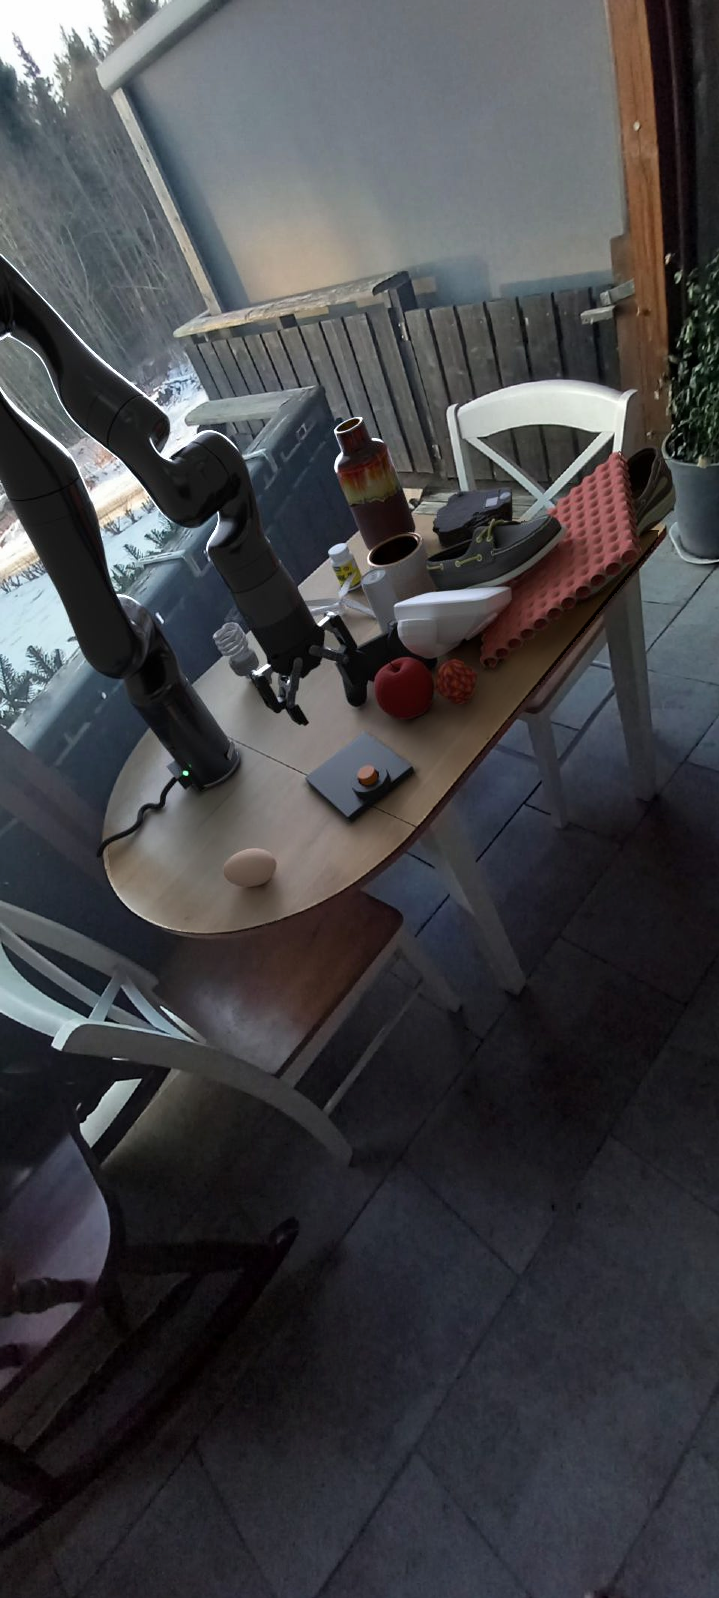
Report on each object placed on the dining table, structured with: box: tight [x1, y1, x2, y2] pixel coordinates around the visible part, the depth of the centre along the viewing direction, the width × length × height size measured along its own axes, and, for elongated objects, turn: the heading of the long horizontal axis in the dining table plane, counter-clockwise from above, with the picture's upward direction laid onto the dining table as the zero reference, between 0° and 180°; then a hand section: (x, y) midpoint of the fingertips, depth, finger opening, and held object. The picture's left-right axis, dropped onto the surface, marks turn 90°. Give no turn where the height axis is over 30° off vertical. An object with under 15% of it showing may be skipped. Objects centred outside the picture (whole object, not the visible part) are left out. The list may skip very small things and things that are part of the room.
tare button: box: [357, 766, 378, 786], centre depth 106 cm, size 3×3×2 cm
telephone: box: [394, 587, 512, 659], centre depth 119 cm, size 16×20×9 cm
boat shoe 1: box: [425, 513, 568, 592], centre depth 121 cm, size 11×29×9 cm, turn 57°
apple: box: [373, 657, 435, 720], centre depth 115 cm, size 9×9×10 cm
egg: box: [222, 847, 277, 888], centre depth 104 cm, size 5×5×8 cm
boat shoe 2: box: [576, 445, 677, 603], centre depth 122 cm, size 32×13×12 cm, turn 127°
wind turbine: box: [304, 572, 376, 619], centre depth 143 cm, size 4×14×21 cm
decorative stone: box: [434, 658, 478, 706], centre depth 112 cm, size 6×7×8 cm
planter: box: [366, 532, 436, 602], centre depth 138 cm, size 11×11×10 cm
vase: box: [333, 416, 417, 552], centre depth 147 cm, size 11×11×26 cm
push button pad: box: [304, 731, 416, 824], centre depth 111 cm, size 14×12×3 cm
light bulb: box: [212, 622, 260, 680], centre depth 139 cm, size 6×6×12 cm
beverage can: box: [361, 568, 399, 634], centre depth 131 cm, size 5×5×12 cm
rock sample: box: [431, 486, 514, 548], centre depth 148 cm, size 18×16×5 cm
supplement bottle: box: [328, 542, 363, 592], centre depth 150 cm, size 5×5×8 cm
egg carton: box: [479, 450, 642, 669], centre depth 117 cm, size 28×28×2 cm
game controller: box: [341, 619, 438, 708], centre depth 124 cm, size 16×7×10 cm, turn 107°
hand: (327, 703), depth 101 cm, fingers open, 8 cm apart
